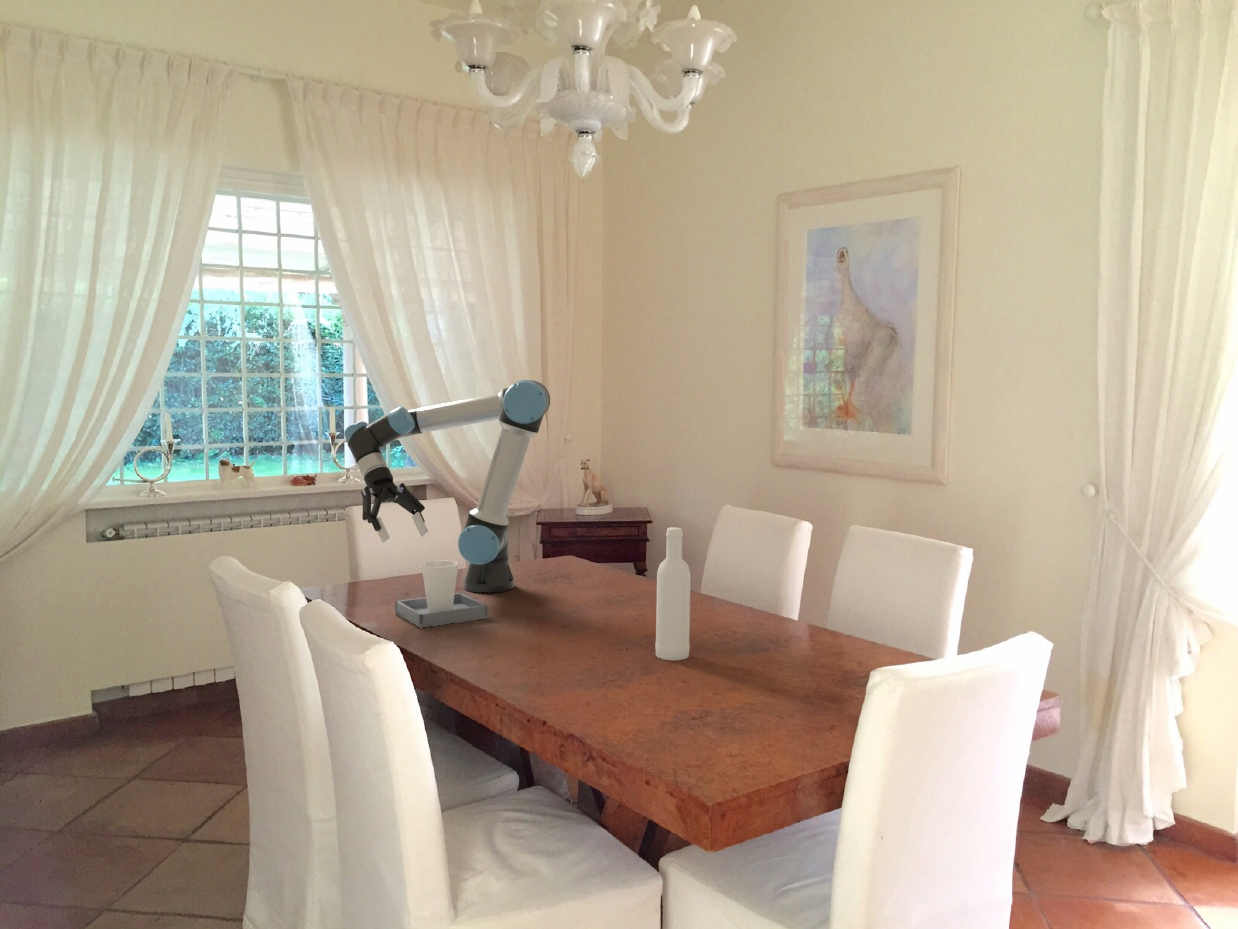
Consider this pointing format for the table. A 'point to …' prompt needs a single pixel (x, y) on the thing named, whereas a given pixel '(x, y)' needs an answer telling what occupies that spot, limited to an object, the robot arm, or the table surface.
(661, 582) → the bottle
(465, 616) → the tray
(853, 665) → the table surface
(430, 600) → the foam cup
